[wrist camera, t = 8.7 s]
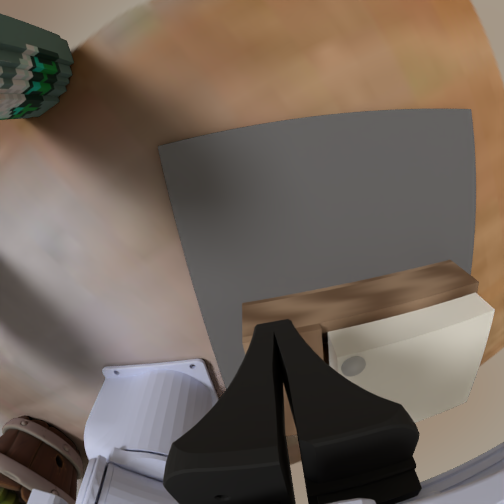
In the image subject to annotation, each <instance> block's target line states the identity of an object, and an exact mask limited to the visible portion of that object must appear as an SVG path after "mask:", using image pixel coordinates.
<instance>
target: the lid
mask: <svg viewBox="0 0 504 504" xmlns="http://www.w3.org/2000/svg"><path fill="white" fill-rule="evenodd" d="M494 311H495V309H494V308H492V307H491V306H490V305H489V304H488V303H487V302H486V301H485V300H483V299H482V298H481V297H480V296H479V295H478V294H477V293H476V292H475V293H472V294H469V295H466V296H463V297H460V298H457V299H453V300H450V301H447V302H444V303H440V304H437V305H433V306H430V307H426V308H423V309H419V310H416V311H412V312H408V313H405V314H401V315H397V316H393V317H389V318H386V319H382V320H377V321H373V322H369V323H365V324H361V325H357V326H352V327H348V328H343V329H339V330H334V331H329V332H328V349H329V366H330V367H332V368H333V369H334V370H335V371H337V372H338V373H339V374H341V375H342V376H344V377H345V378H346V379H348V380H349V381H351V382H353V383H354V384H356V385H358V386H360V387H361V388H363V389H365V390H367V391H369V392H371V393H373V394H375V395H377V396H379V397H382V398H385V399H388V400H390V401H393V402H396V403H399V404H401V405H402V406H403V407H404V408H405V410H406V411H407V412H408V414H409V415H410V416H411V418H412V419H413V421H414V423H416V422H418V421H421V420H424V419H427V418H429V417H432V416H434V415H437V414H439V413H442V412H444V411H447V410H449V409H452V408H454V407H456V406H459V405H461V404H463V403H465V402H467V399H468V397H469V394H470V391H471V389H472V386H473V383H474V380H475V377H476V375H477V372H478V369H479V366H480V362H481V359H482V356H483V353H484V349H485V346H486V342H487V339H488V335H489V331H490V328H491V324H492V320H493V315H494Z"/></svg>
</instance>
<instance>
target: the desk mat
mask: <svg viewBox="0 0 504 504" xmlns="http://www.w3.org/2000/svg"><path fill="white" fill-rule="evenodd" d="M158 150H159V155H160V159H161V164H162V168H163V172H164V177H165V181H166V185H167V189H168V193H169V197H170V201H171V205H172V209H173V213H174V217H175V221H176V225H177V229H178V233H179V236H180V240H181V244H182V248H183V251H184V255H185V259H186V262H187V266H188V269H189V273H190V276H191V280H192V283H193V287H194V290H195V293H196V297H197V300H198V303H199V307H200V310H201V313H202V317H203V320H204V323H205V326H206V329H207V333H208V336H209V339H210V342H211V345H212V348H213V351H214V354H215V357H216V360H217V363H218V366H219V369H220V372H221V375H222V378H223V381H224V384H225V387H226V389H227V388H228V386H229V385H230V383H231V382H232V380H233V378H234V377H235V375H236V373H237V371H238V369H239V367H240V365H241V363H242V361H243V359H244V357H245V351H244V347H243V344H242V303H246V302H252V301H257V300H263V299H269V298H274V297H280V296H285V295H290V294H296V293H301V292H306V291H311V290H316V289H322V288H327V287H331V286H336V285H341V284H346V283H351V282H356V281H360V280H365V279H370V278H374V277H379V276H383V275H388V274H392V273H396V272H401V271H405V270H409V269H414V268H418V267H422V266H426V265H430V264H434V263H439V262H443V261H447V260H452V261H453V262H454V263H455V264H457V265H458V266H459V267H461V268H462V269H463V270H465V271H466V272H467V273H468V274H470V275H471V267H472V257H473V246H474V233H475V212H476V167H475V146H474V133H473V122H472V113H471V109H401V110H380V111H365V112H352V113H341V114H331V115H322V116H314V117H306V118H298V119H291V120H284V121H277V122H271V123H265V124H259V125H253V126H247V127H242V128H237V129H231V130H226V131H221V132H217V133H212V134H207V135H203V136H198V137H194V138H189V139H185V140H181V141H177V142H173V143H169V144H165V145H161V146H158Z"/></svg>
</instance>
